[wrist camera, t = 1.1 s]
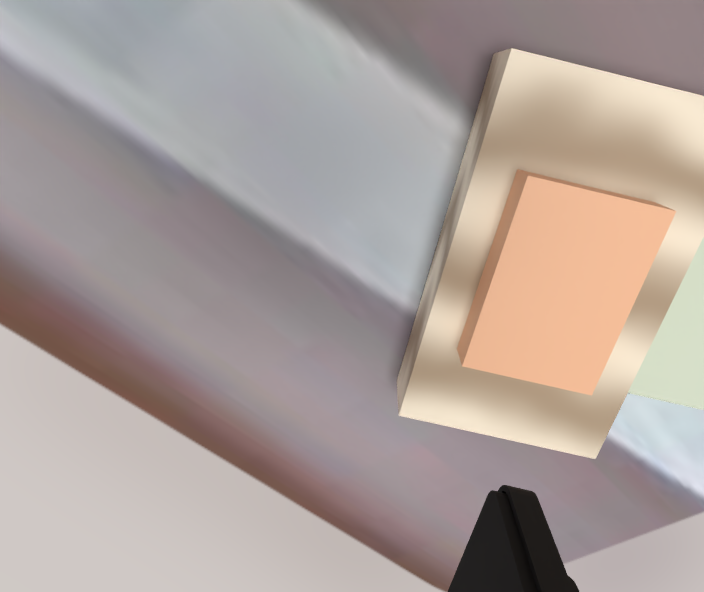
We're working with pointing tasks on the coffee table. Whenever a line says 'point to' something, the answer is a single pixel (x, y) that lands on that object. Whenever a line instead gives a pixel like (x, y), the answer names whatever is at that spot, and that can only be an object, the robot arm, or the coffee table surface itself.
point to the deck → (484, 216)
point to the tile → (560, 281)
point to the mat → (678, 346)
